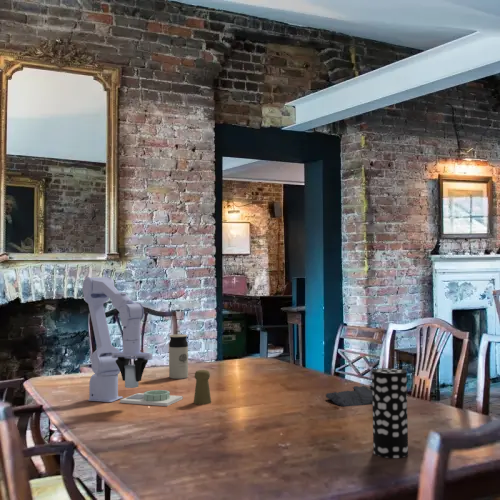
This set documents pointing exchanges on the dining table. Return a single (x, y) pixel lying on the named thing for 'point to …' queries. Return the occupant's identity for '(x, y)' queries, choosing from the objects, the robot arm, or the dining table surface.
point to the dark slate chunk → (352, 397)
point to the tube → (130, 376)
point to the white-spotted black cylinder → (390, 412)
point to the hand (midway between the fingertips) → (131, 380)
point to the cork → (202, 387)
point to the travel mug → (178, 356)
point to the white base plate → (152, 398)
